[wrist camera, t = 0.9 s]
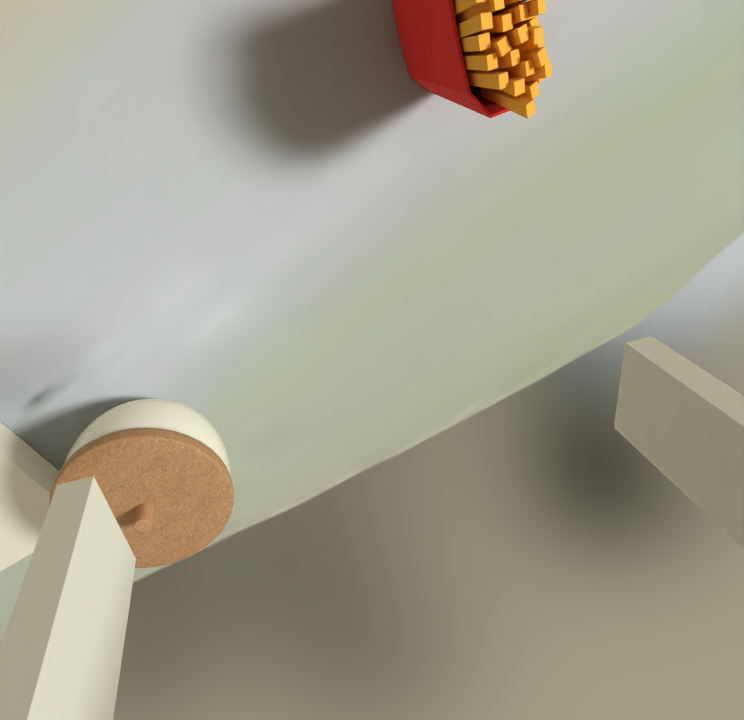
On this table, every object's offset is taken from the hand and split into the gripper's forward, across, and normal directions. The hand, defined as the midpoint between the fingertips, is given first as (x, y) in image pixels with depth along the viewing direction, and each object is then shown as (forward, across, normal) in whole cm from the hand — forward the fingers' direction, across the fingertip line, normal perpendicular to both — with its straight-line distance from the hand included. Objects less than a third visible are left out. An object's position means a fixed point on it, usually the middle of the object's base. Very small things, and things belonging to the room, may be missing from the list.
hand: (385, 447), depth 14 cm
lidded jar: (+26, -12, -15) cm, 32 cm away
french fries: (+26, +11, +8) cm, 29 cm away
